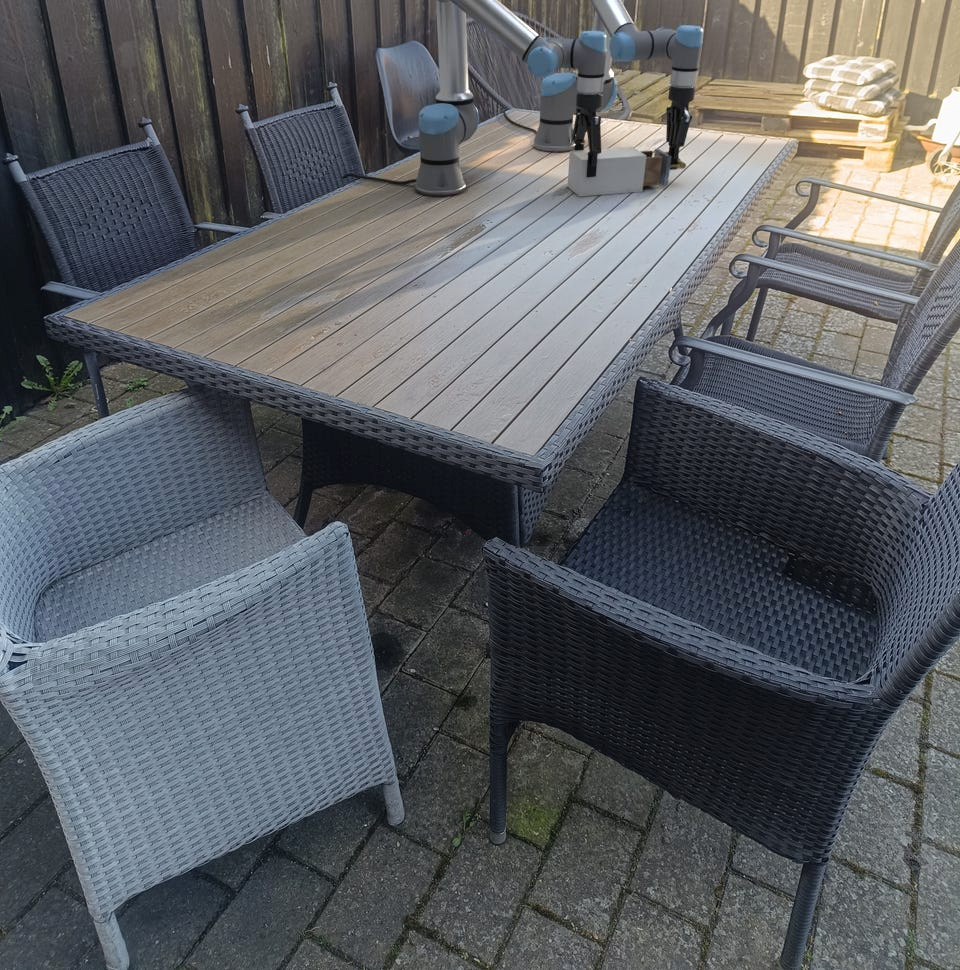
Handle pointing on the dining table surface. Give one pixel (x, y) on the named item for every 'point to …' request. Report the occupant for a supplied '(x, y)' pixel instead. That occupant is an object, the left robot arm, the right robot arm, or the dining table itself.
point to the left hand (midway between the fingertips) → (584, 171)
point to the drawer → (658, 167)
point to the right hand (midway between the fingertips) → (671, 168)
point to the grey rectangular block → (607, 172)
